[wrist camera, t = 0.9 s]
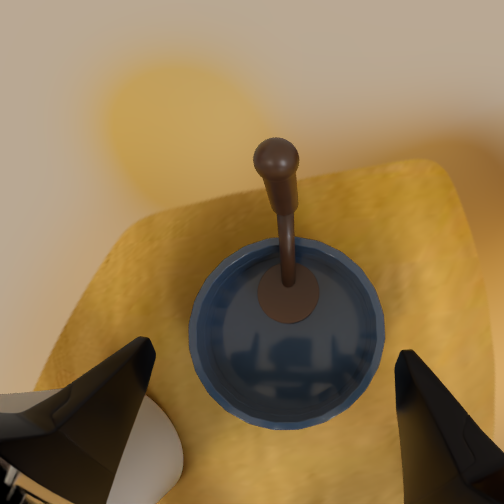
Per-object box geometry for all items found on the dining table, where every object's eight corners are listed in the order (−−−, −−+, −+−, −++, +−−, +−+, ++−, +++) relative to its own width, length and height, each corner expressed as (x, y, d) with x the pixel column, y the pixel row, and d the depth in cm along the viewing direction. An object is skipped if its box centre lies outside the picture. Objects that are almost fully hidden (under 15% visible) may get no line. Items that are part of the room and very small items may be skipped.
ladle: (317, 324, 21) (333, 318, 9) (258, 322, 22) (205, 314, 10) (318, 224, 23) (325, 127, 11) (263, 225, 24) (223, 132, 12)
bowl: (348, 426, 19) (355, 444, 15) (191, 388, 22) (171, 398, 18) (384, 268, 22) (398, 256, 18) (229, 238, 25) (215, 222, 21)
